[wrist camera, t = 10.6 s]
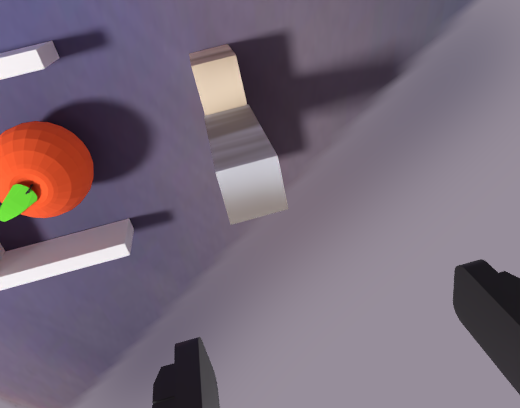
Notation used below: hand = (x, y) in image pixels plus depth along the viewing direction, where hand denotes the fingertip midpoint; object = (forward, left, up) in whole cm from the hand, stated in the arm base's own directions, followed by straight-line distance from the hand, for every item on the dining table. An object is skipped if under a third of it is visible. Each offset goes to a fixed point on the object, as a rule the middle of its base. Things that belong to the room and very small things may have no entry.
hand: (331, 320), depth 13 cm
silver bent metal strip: (0, -1, -25) cm, 25 cm away
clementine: (0, -15, -25) cm, 29 cm away
